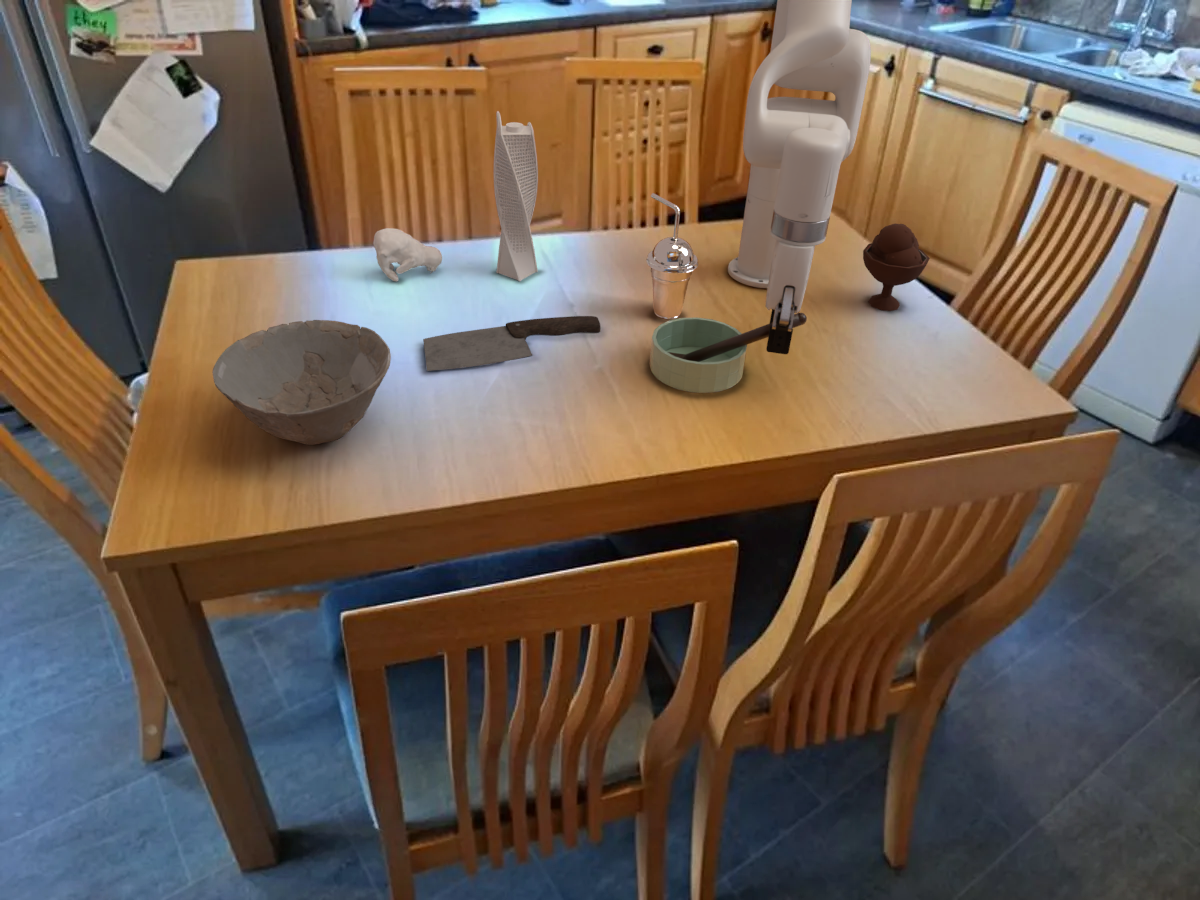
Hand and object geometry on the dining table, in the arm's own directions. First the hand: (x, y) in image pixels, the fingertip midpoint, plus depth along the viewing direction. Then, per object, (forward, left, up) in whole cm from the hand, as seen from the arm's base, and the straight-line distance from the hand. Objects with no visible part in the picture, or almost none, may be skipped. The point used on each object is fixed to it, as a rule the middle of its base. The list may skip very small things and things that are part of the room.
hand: (778, 341), depth 131 cm
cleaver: (0, -40, -7) cm, 41 cm away
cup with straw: (-17, -18, -7) cm, 26 cm away
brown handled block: (0, -7, -6) cm, 9 cm away
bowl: (0, -12, -7) cm, 13 cm away
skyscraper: (-26, -48, -7) cm, 55 cm away
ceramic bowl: (+28, -60, -7) cm, 67 cm away
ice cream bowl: (-32, +18, -7) cm, 38 cm away
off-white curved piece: (-20, -66, -7) cm, 69 cm away
